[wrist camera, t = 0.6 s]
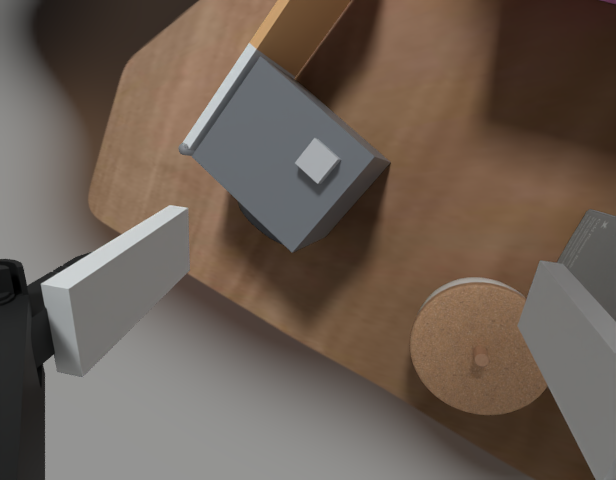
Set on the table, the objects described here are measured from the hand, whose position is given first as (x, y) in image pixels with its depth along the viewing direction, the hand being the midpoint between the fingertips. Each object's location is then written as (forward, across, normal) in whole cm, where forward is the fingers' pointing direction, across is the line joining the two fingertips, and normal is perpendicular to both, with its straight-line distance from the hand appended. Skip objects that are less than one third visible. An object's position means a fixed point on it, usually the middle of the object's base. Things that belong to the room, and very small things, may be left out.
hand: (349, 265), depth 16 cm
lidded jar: (+22, +12, -14) cm, 29 cm away
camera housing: (+27, -6, -2) cm, 28 cm away
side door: (+29, -8, +7) cm, 31 cm away
